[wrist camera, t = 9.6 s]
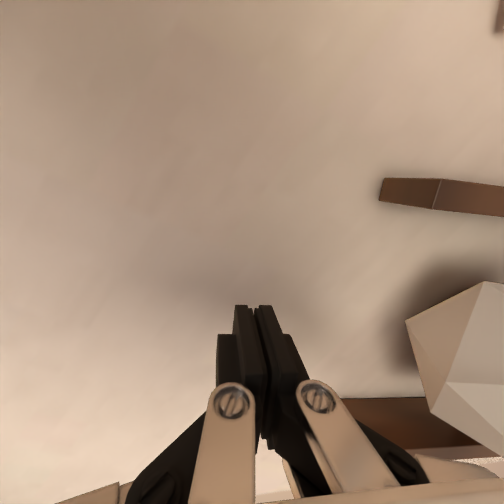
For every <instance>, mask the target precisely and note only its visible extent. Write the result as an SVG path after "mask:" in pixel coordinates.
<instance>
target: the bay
mask: <svg viewBox="0 0 504 504" xmlns="http://www.w3.org/2000/svg"><path fill="white" fill-rule="evenodd" d="M379 201H384V202H390V203H397V204H403V205H409V206H415V207H421V208H427V209H435V210H444V211H453V212H463V213H472V214H482V215H491V216H500V217H504V187H502V186H495V185H487V184H479V183H471V182H464V181H456V180H448V179H434V178H384V182H383V186H382V190H381V194H380V197H379ZM341 401H342V402H343V404H344V405H345V406H346V408H347V409H348V411H349V412H350V414H351V415H352V416H353V418H355V419H356V420H358V421H360V422H361V423H363V424H364V425H366V426H367V427H369V428H371V429H372V430H374V431H375V432H377V433H379V434H380V435H382V436H383V437H385V438H387V439H388V440H390V441H391V442H393V443H394V444H396V445H398V446H399V447H401V448H402V449H404V450H405V451H406V452H408V453H409V454H410V455H411V456H412V457H414V456H415V454H421V455H426V456H432V457H437V458H443V459H448V460H456V459H471V458H485V457H500V455H498V454H497V453H495V452H493V451H492V450H490V449H489V448H487V447H485V446H484V445H482V444H481V443H479V442H477V441H476V440H474V439H472V438H471V437H469V436H468V435H466V434H464V433H463V432H461V431H460V430H458V429H456V428H455V427H453V426H451V425H450V424H448V423H447V422H445V421H443V420H442V419H440V418H439V417H437V416H435V415H434V414H432V413H431V412H430V409H429V406H428V402H427V399H426V397H424V398H381V399H341Z"/></svg>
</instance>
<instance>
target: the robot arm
mask: <svg viewBox="0 0 504 504" xmlns="http://www.w3.org/2000/svg"><path fill="white" fill-rule="evenodd" d="M260 434H261V438H262V439H266V440H267V446H268V450H272V449H275V452H276V453H278V454H279V455H280V456H281V457H282V463H283V467H284V471H285V473H286V476H287V479H288V482H289V485H290V488H291V490H292V493H293V496H294V499H290V500H282V501H274V502H266V503H258V504H504V478H499V477H498V476H497V475H495V474H494V473H492V472H490V471H489V470H487V469H486V468H484V467H481V466H478V465H475V464H470V463H465V462H459V461H454V460H448V459H443V458H437V457H432V456H426V455H421V454H415V456H414V457H412V456H411V455H410V454H409V453H408V452H406V451H405V450H404V449H402V448H401V447H399V446H398V445H396V444H394V443H393V442H391V441H390V440H388V439H387V438H385V437H383V436H382V435H380V434H379V433H377V432H375V431H374V430H372V429H371V428H369V427H367V426H366V425H364V424H363V423H361V422H360V421H358V420H356V419H355V418H353V416H352V415H351V414H350V412H349V411H348V409H347V408H346V406H345V405H344V404H343V402H342V401H341V399H340V398H339V396H338V395H337V394H336V392H335V391H334V390H333V389H332V388H331V387H329V386H328V385H327V384H325V383H323V382H321V381H317V380H310V378H309V376H308V374H307V371H306V369H305V367H304V365H303V362H302V360H301V358H300V355H299V353H298V351H297V349H296V346H295V344H294V342H293V340H292V337H291V336H290V335H289V334H283V333H282V330H281V328H280V325H279V323H278V320H277V318H276V315H275V313H274V310H273V308H272V306H271V305H259V308H255V310H254V314H253V310H252V308H248V305H235V310H234V321H233V332H232V334H218V338H217V353H216V388H215V389H214V390H213V392H212V393H211V395H210V398H209V401H208V406H207V411H206V412H204V413H203V414H202V415H201V416H200V417H199V418H198V419H197V420H196V421H195V422H194V423H193V424H192V425H191V426H190V427H189V428H187V429H186V430H185V431H184V432H183V433H182V434H181V435H180V436H179V437H178V438H177V439H176V440H175V441H174V442H173V443H172V444H171V445H169V446H168V447H167V448H166V449H165V450H164V451H163V452H162V453H161V454H160V455H159V456H158V457H157V458H156V459H155V460H154V461H153V462H151V463H150V464H149V465H148V466H147V467H146V468H145V469H144V470H143V471H142V472H141V473H140V474H139V475H138V477H137V478H136V479H135V480H134V481H132V482H129V483H126V484H123V485H121V486H119V482H116V483H114V484H111V485H108V486H105V487H102V488H99V489H96V490H93V491H90V492H88V493H85V494H82V495H79V496H76V497H73V498H70V499H67V500H64V501H62V502H59V503H56V504H255V455H256V453H257V448H258V442H259V436H260Z"/></svg>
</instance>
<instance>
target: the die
mask: <svg viewBox="0 0 504 504" xmlns="http://www.w3.org/2000/svg"><path fill="white" fill-rule="evenodd" d="M405 323H406V327H407V330H408V334H409V338H410V341H411V345H412V348H413V352H414V356H415V359H416V363H417V366H418V370H419V373H420V377H421V381H422V384H423V388H424V391H425V395H426V399H427V402H428V406H429V409H430V412H431V413H432V414H434V415H435V416H437V417H439V418H440V419H442V420H443V421H445V422H447V423H448V424H450V425H451V426H453V427H455V428H456V429H458V430H460V431H461V432H463V433H464V434H466V435H468V436H469V437H471V438H472V439H474V440H476V441H477V442H479V443H481V444H482V445H484V446H485V447H487V448H489V449H490V450H492V451H493V452H495V453H497V454H498V455H500V456H502V457H503V458H504V284H501V283H495V282H488V281H483V282H481V283H479V284H477V285H475V286H473V287H471V288H469V289H467V290H465V291H463V292H461V293H459V294H457V295H455V296H453V297H451V298H449V299H447V300H445V301H443V302H441V303H439V304H437V305H435V306H433V307H431V308H429V309H427V310H425V311H423V312H421V313H419V314H417V315H415V316H413V317H411V318H409V319H407V320H405Z"/></svg>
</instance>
